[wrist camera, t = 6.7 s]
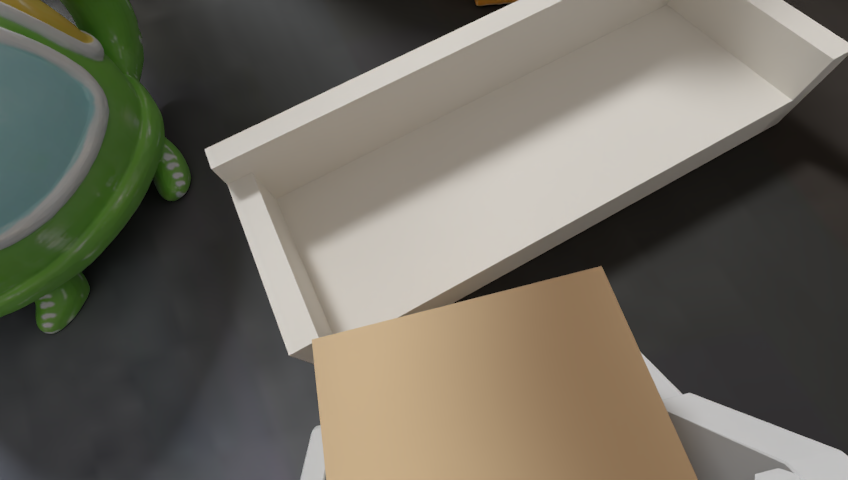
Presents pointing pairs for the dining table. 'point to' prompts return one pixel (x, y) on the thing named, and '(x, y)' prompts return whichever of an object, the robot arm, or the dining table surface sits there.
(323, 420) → the oak blank
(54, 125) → the turtle holder
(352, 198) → the cream shelf
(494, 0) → the supplement box
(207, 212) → the dining table surface
